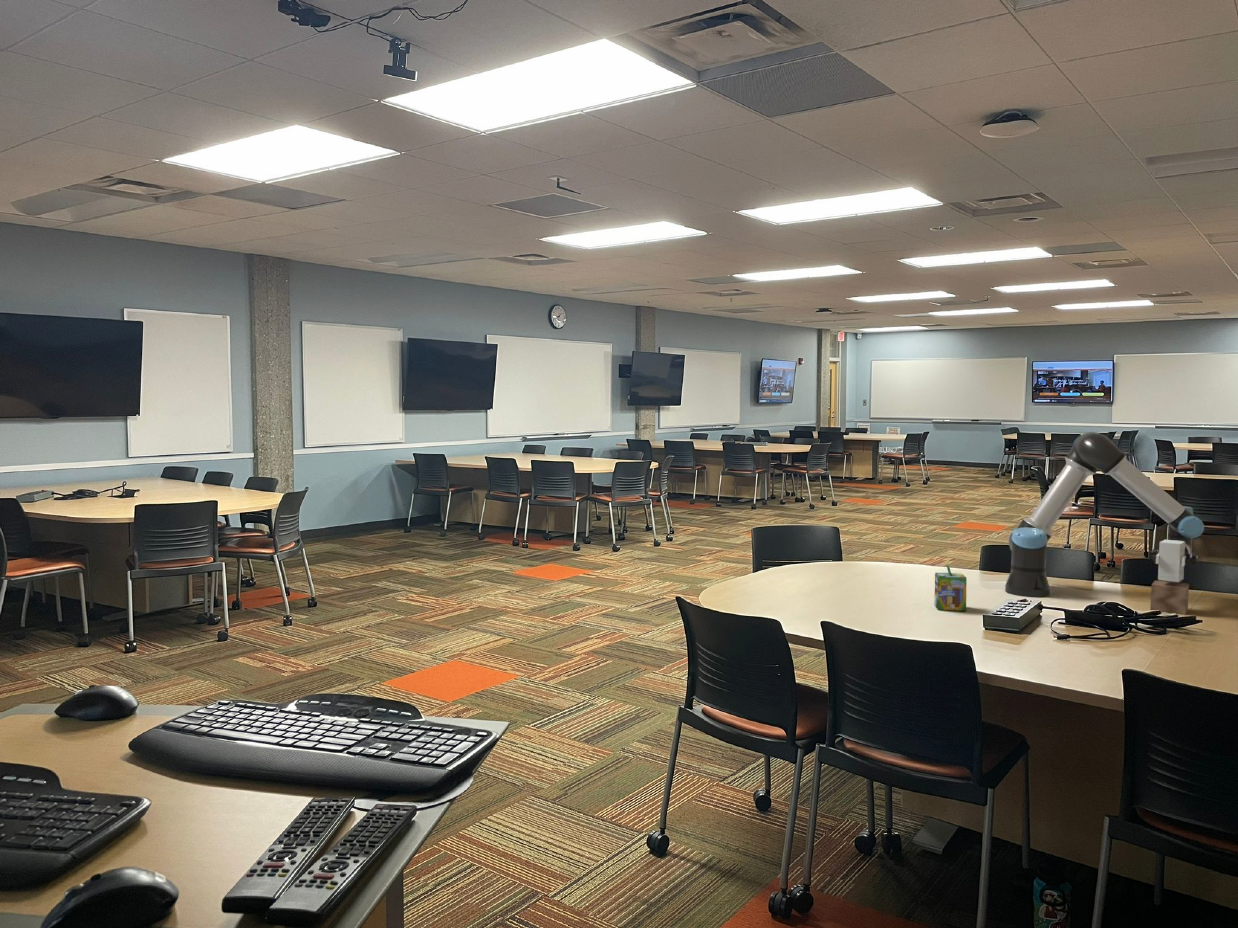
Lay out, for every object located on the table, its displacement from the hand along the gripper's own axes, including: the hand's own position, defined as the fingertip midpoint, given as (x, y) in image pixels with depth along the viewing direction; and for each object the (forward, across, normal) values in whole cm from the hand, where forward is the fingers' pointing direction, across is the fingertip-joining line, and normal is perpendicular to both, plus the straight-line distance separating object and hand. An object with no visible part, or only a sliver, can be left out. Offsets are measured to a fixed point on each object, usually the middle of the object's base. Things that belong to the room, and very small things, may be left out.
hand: (1169, 560), depth 302 cm
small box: (-5, 0, -7) cm, 9 cm away
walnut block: (-5, 0, -18) cm, 18 cm away
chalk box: (+39, +60, -18) cm, 74 cm away
